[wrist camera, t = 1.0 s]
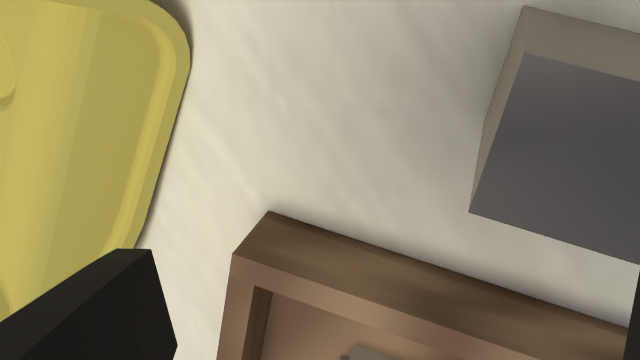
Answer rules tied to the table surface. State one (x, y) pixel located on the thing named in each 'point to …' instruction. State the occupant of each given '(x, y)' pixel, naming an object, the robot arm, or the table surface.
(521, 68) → the grey rectangular block
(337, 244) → the walnut box
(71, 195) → the plastic component
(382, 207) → the table surface
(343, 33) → the table surface
